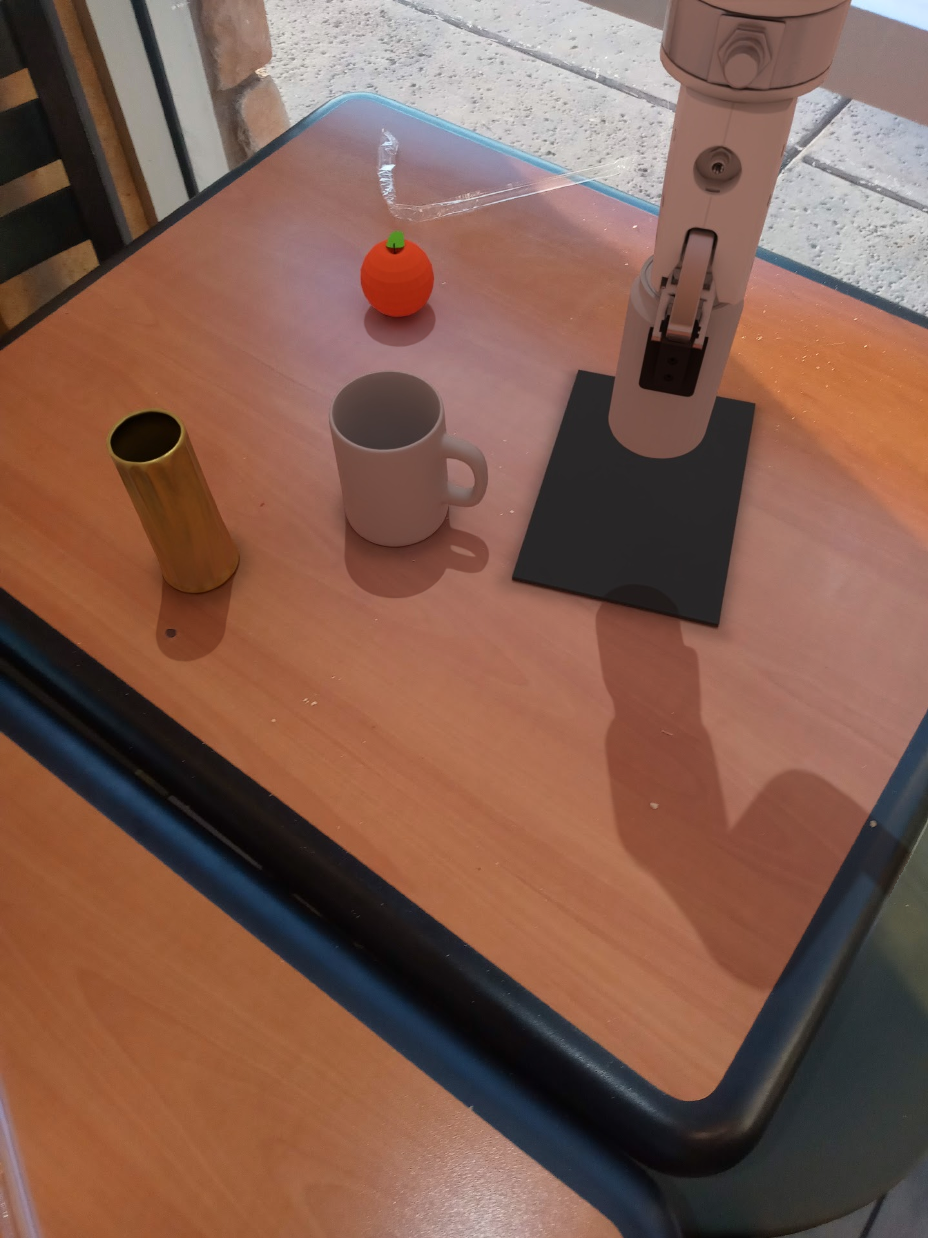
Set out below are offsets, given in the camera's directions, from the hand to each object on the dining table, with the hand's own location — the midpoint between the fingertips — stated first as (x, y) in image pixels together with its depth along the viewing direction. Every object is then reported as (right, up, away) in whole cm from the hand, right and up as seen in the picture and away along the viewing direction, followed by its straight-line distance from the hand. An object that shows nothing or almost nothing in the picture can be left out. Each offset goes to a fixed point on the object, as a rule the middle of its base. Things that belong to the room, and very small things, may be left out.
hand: (675, 346), depth 54 cm
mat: (+2, -5, +21) cm, 22 cm away
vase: (-34, -12, +18) cm, 40 cm away
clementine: (-19, +14, +34) cm, 41 cm away
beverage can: (0, -4, +6) cm, 7 cm away
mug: (-17, -8, +20) cm, 27 cm away
